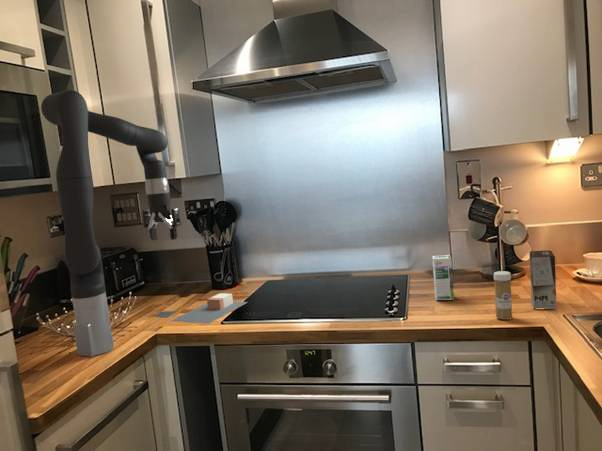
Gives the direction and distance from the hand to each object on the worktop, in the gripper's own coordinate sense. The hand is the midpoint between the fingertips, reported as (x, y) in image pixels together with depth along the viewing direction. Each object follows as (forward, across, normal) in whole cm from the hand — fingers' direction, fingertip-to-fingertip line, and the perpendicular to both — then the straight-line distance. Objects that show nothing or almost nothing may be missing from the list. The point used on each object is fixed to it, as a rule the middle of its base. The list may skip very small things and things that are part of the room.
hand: (163, 239), depth 172 cm
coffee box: (+28, -115, -33) cm, 123 cm away
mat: (+28, -9, -9) cm, 31 cm away
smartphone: (+29, +6, +1) cm, 29 cm away
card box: (+28, -9, -15) cm, 33 cm away
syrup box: (+28, -85, -36) cm, 97 cm away
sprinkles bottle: (+28, -105, -19) cm, 110 cm away
